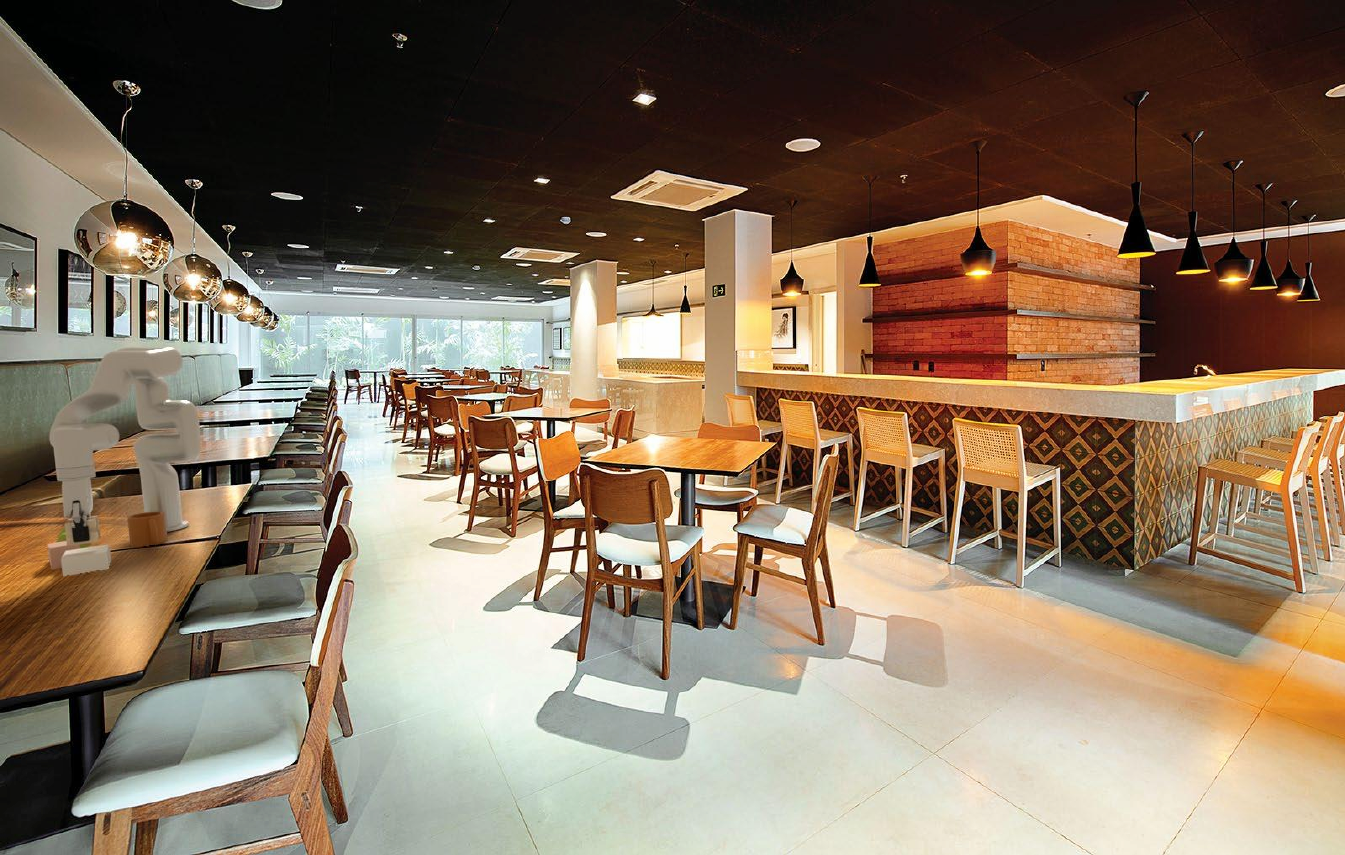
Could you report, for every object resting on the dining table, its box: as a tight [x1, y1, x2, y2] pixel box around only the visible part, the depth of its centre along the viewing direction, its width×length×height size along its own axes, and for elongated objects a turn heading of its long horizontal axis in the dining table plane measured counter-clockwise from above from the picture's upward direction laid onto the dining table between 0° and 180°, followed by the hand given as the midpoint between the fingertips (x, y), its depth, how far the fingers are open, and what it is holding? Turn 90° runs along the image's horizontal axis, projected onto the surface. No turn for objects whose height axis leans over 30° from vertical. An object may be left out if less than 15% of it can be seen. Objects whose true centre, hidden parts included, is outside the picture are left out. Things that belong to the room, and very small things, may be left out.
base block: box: [61, 543, 112, 577], centre depth 173 cm, size 9×9×5 cm
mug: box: [126, 511, 168, 548], centre depth 194 cm, size 9×12×9 cm
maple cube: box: [64, 515, 101, 546], centre depth 172 cm, size 6×6×6 cm
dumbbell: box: [55, 525, 92, 548], centre depth 188 cm, size 16×8×7 cm, turn 39°
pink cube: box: [46, 541, 80, 570], centre depth 176 cm, size 6×6×6 cm
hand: (83, 537), depth 172 cm, fingers closed on maple cube, 6 cm apart
